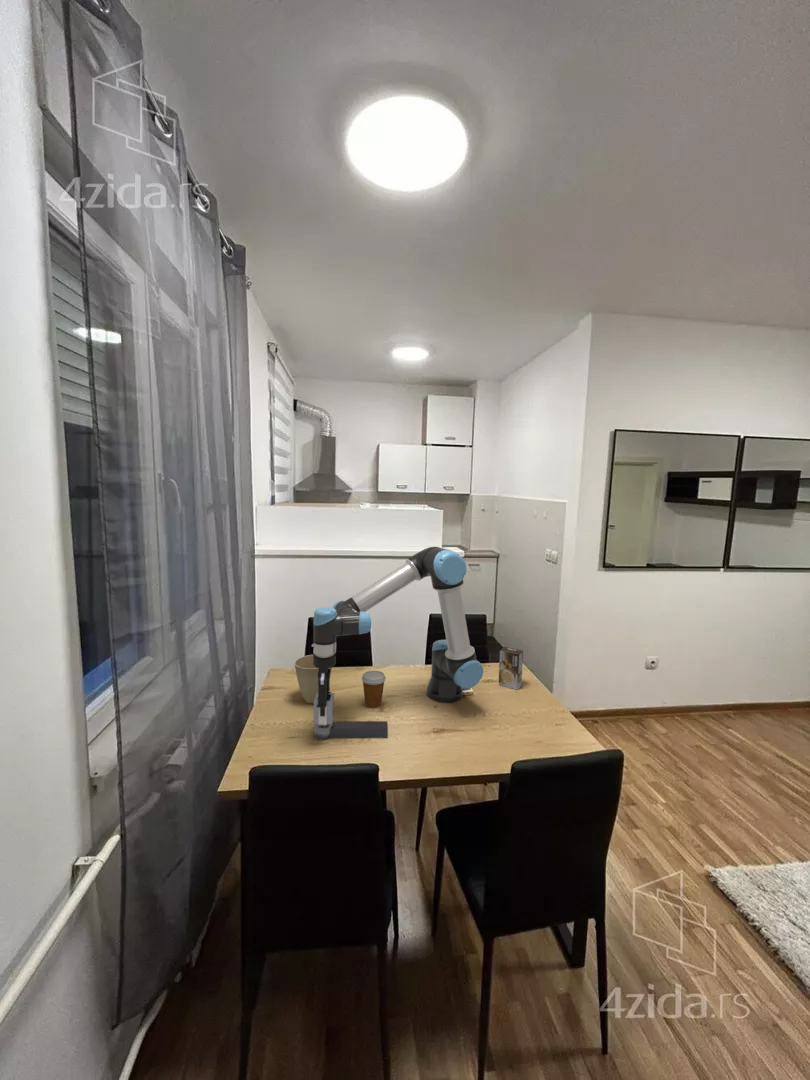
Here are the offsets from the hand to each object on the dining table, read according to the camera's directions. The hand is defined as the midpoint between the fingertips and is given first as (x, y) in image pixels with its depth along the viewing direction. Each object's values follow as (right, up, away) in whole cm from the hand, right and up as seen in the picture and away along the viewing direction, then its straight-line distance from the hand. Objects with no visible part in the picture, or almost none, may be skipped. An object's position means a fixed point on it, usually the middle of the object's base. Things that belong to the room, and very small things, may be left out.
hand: (323, 718), depth 150 cm
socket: (0, 0, 0) cm, 0 cm away
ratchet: (+9, -6, +1) cm, 11 cm away
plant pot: (-9, -3, +26) cm, 28 cm away
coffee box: (+75, -4, +45) cm, 87 cm away
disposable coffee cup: (+15, -4, +24) cm, 28 cm away
